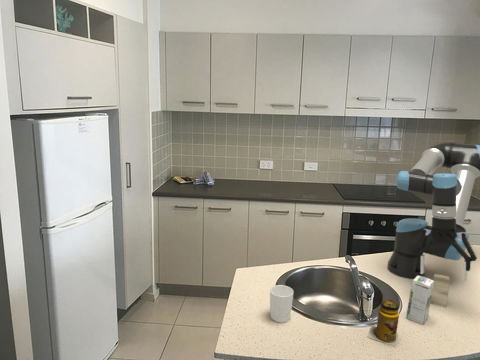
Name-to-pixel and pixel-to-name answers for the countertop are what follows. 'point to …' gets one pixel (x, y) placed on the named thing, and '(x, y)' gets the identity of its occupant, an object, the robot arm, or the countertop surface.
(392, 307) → the condiment
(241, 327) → the countertop surface
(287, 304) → the white cup
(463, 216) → the robot arm
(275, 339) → the countertop surface
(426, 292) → the syrup box
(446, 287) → the beige block
